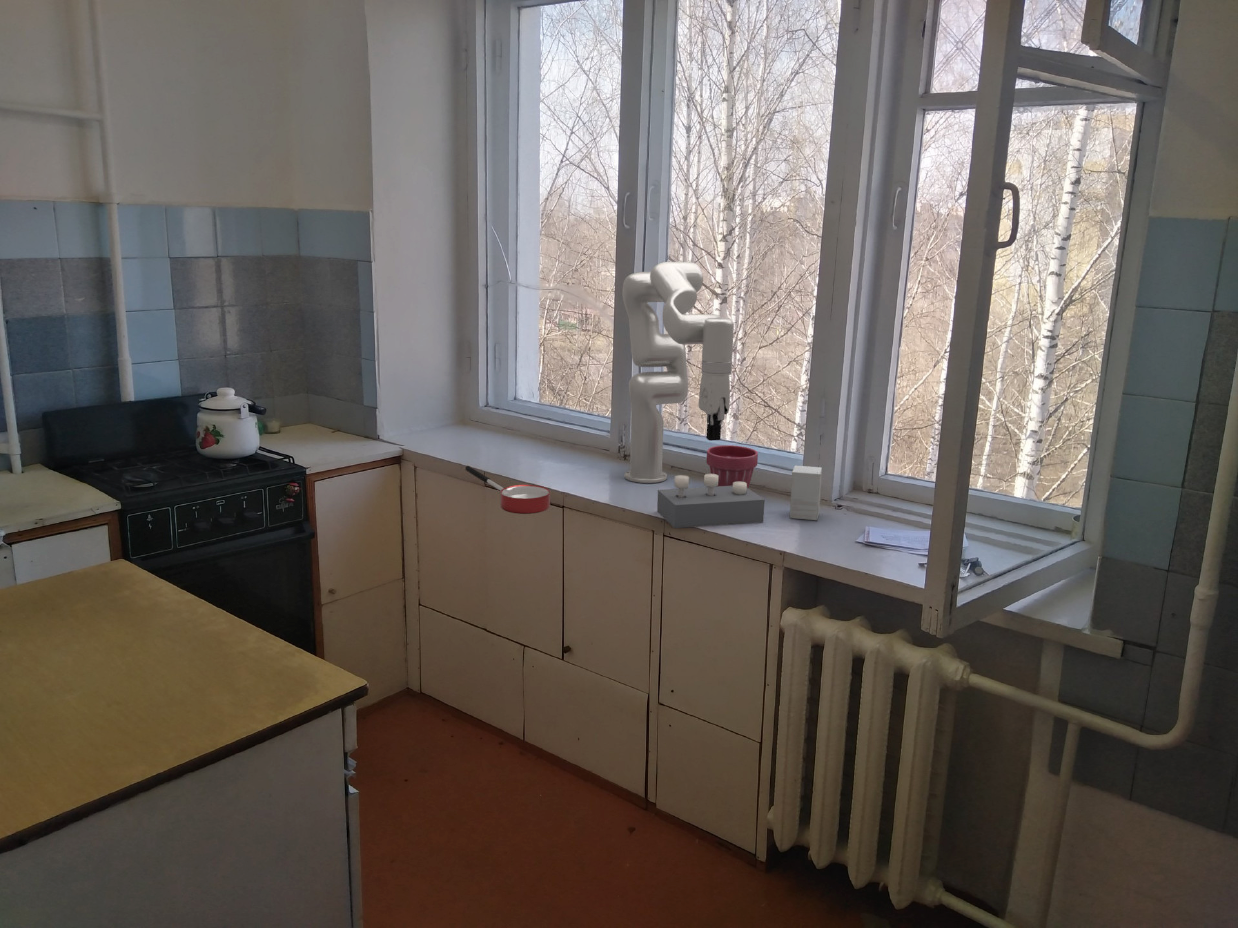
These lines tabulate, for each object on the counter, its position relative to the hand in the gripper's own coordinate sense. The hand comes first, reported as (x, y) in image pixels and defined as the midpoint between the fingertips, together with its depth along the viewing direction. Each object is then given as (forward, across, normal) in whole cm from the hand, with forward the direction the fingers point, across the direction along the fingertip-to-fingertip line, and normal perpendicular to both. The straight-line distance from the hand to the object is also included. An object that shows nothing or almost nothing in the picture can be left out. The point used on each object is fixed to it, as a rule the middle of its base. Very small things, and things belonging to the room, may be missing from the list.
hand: (713, 439), depth 242 cm
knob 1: (+17, 0, -8) cm, 18 cm away
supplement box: (+21, +4, +25) cm, 33 cm away
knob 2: (+17, 0, 0) cm, 17 cm away
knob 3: (+19, 0, +8) cm, 21 cm away
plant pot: (+21, -18, +13) cm, 31 cm away
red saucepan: (+21, -26, -50) cm, 61 cm away
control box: (+21, 0, 0) cm, 21 cm away
